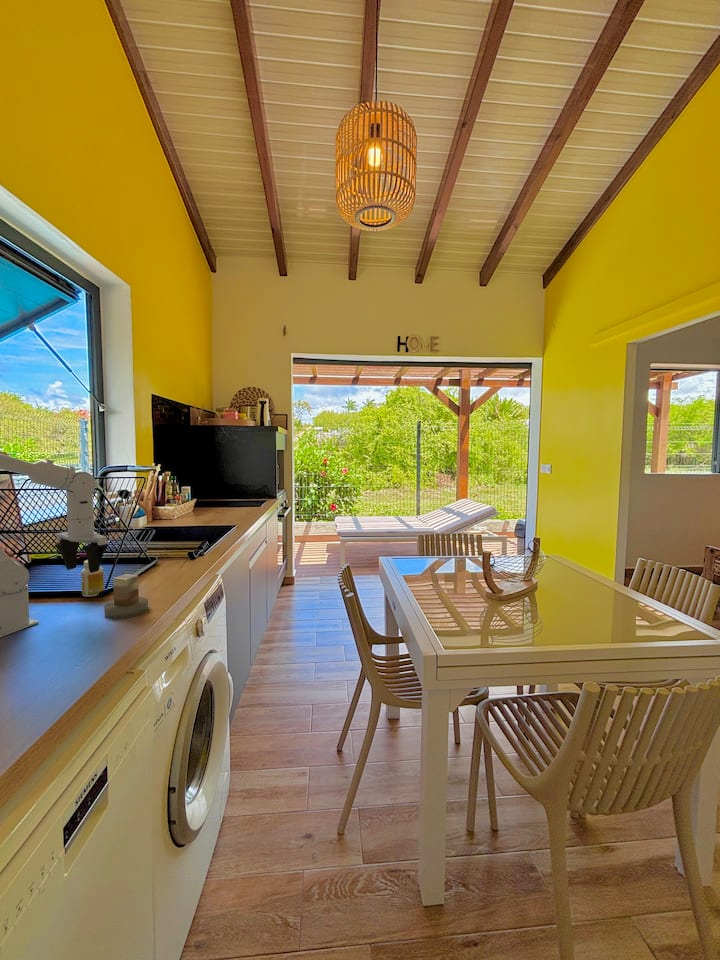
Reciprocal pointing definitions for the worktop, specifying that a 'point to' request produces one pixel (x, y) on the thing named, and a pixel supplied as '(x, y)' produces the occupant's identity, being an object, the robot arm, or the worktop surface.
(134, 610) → the stand
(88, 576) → the supplement bottle
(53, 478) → the robot arm
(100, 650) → the worktop surface
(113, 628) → the worktop surface
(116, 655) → the worktop surface
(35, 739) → the worktop surface
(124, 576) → the block
